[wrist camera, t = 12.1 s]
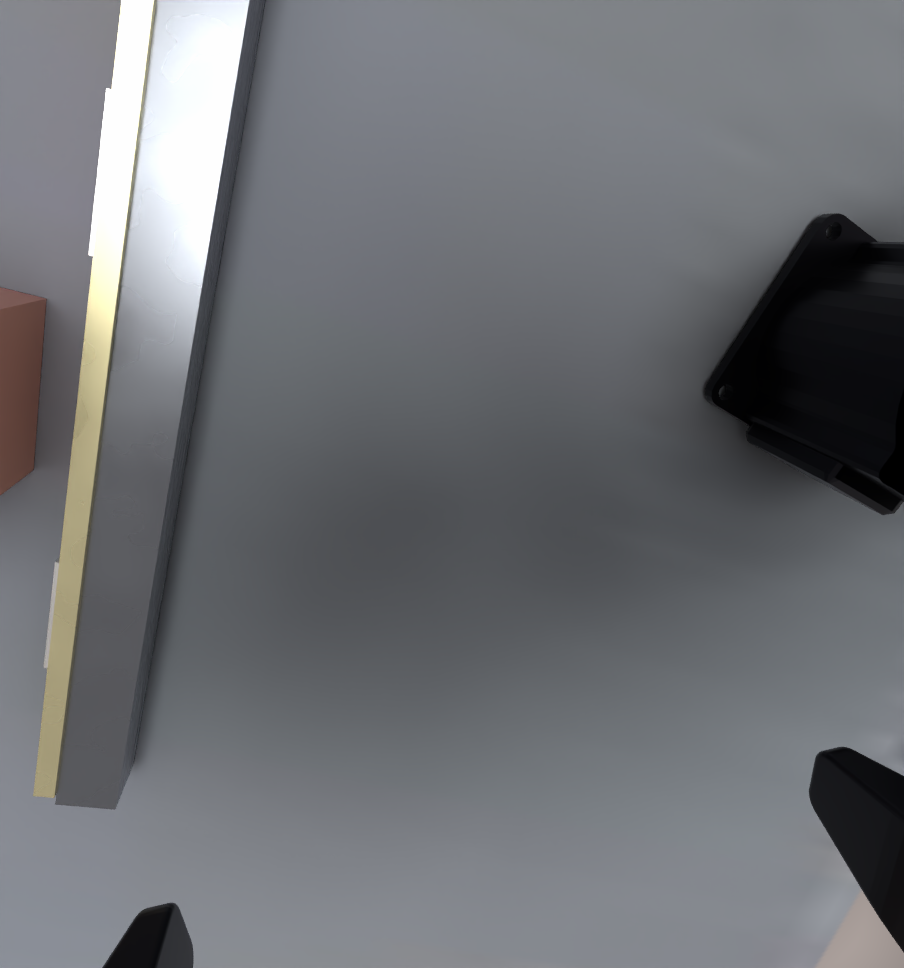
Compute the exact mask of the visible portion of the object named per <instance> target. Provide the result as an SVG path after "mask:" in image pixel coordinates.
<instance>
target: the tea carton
mask: <svg viewBox="0 0 904 968" xmlns="http://www.w3.org/2000/svg"><path fill="white" fill-rule="evenodd" d="M45 311H46V299H45V298H41V297H37V296H33V295H29V294H25V293H21V292H17V291H13V290H9V289H5V288H1V287H0V495H2V494H3V493H4V492H5V491H7V490H8V489H9V488H11V487H12V486H13V485H15V484H16V483H17V482H18V481H20V480H21V479H22V478H24V477H25V476H26V475H28V474H29V473H30V472H31V471H33V470H34V458H35V445H36V431H37V418H38V405H39V391H40V378H41V365H42V351H43V338H44V325H45Z"/></svg>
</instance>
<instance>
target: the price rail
mask: <svg viewBox="0 0 904 968" xmlns="http://www.w3.org/2000/svg"><path fill="white" fill-rule="evenodd" d="M264 5H265V0H122V1H121V10H120V19H119V28H118V37H117V46H116V55H115V64H114V73H113V82H112V90H110V89H106V98H105V107H104V117H103V126H102V135H101V144H100V153H99V163H98V172H97V181H96V190H95V199H94V209H93V218H92V227H91V236H90V245H89V255H90V256H93V263H92V272H91V281H90V290H89V299H88V308H87V317H86V326H85V335H84V344H83V353H82V362H81V371H80V380H79V389H78V398H77V407H76V416H75V425H74V434H73V443H72V452H71V461H70V470H69V479H68V488H67V497H66V506H65V515H64V524H63V533H62V542H61V551H60V557H59V558H58V559H57V561H56V562H55V568H54V577H53V586H52V595H51V605H50V614H49V623H48V632H47V641H46V651H45V660H44V668H47V677H46V686H45V695H44V704H43V713H42V722H41V731H40V740H39V749H38V758H37V767H36V776H35V785H34V794H33V796H38V797H50V798H54V797H55V795H56V793H57V795H56V803H55V804H56V805H68V806H80V807H92V808H104V809H116V806H117V804H118V801H119V799H120V796H121V794H122V791H123V789H124V786H125V784H126V781H127V779H128V776H129V774H130V771H131V769H132V766H133V764H134V758H135V753H136V747H137V741H138V735H139V730H140V724H141V718H142V712H143V706H144V701H145V695H146V689H147V683H148V677H149V672H150V666H151V660H152V654H153V648H154V643H155V637H156V631H157V625H158V619H159V614H160V608H161V602H162V596H163V590H164V585H165V579H166V573H167V567H168V562H169V556H170V550H171V544H172V538H173V533H174V527H175V521H176V515H177V509H178V504H179V498H180V492H181V486H182V480H183V475H184V469H185V463H186V457H187V451H188V446H189V440H190V434H191V428H192V423H193V417H194V411H195V405H196V399H197V394H198V388H199V382H200V376H201V370H202V365H203V359H204V353H205V347H206V341H207V336H208V330H209V324H210V318H211V312H212V307H213V301H214V295H215V289H216V283H217V278H218V272H219V266H220V260H221V255H222V249H223V243H224V237H225V231H226V226H227V220H228V214H229V208H230V202H231V197H232V191H233V185H234V179H235V173H236V168H237V162H238V156H239V150H240V144H241V139H242V133H243V127H244V121H245V115H246V110H247V104H248V98H249V92H250V87H251V81H252V75H253V69H254V63H255V58H256V52H257V46H258V40H259V34H260V29H261V23H262V17H263V11H264Z"/></svg>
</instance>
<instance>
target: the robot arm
mask: <svg viewBox="0 0 904 968" xmlns="http://www.w3.org/2000/svg"><path fill="white" fill-rule="evenodd" d="M830 224H831V226H832V233H831V236H830V237H829V238H827V237H826V230H827V228H828V226H829V225H830ZM724 385H726V388H727V389H726V392H725V394H724V395H723V396H721V397H719V390H720V388H721V387H722V386H724ZM705 396H706V399H707V400H708V401H709V402H710V403H711V404H713V405H715V406H716V407H718V408H720V409H721V410H723V411H725V412H726V413H728V414H730V415H732V416H733V417H735V418H737V419H738V420H740V421H742V422H743V423H745V424H747V425H748V426H750V427H749V429H748V430H747V431H746V437H747V441H748V442H750V443H752V444H753V445H755V446H757V447H758V448H760V449H762V450H764V451H765V452H767V453H769V454H770V455H772V456H774V457H776V458H777V459H779V460H781V461H782V462H784V463H786V464H788V465H789V466H791V467H793V468H794V469H796V470H798V471H800V472H802V473H804V474H805V475H807V476H809V477H811V478H813V479H815V480H817V481H819V482H821V483H823V484H824V485H826V486H828V487H830V488H832V489H834V490H836V491H838V492H840V493H842V494H843V495H845V496H847V497H849V498H851V499H853V500H855V501H857V502H859V503H861V504H862V505H864V506H866V507H868V508H870V509H872V510H874V511H876V512H878V513H880V514H881V515H886V514H892V513H895V512H896V510H897V509H898V508H899V507H900V505H901V504H902V503H903V502H904V242H877V241H876V240H875V239H874V238H872V237H871V236H870V235H868V234H867V233H866V232H865V231H863V230H862V229H861V228H860V227H858V226H857V225H856V224H854V223H853V222H852V221H851V220H849V219H848V218H847V217H846V216H844V215H842V214H839V213H838V214H824V215H822V216H820V217H818V218H817V219H816V220H815V222H814V223H813V224H812V226H811V227H810V229H809V230H808V232H807V233H806V235H805V236H804V238H803V239H802V241H801V242H800V244H799V245H798V247H797V248H796V250H795V251H794V253H793V254H792V256H791V257H790V259H789V260H788V262H787V264H786V265H785V267H784V268H783V270H782V271H781V273H780V274H779V276H778V277H777V279H776V280H775V282H774V283H773V285H772V286H771V288H770V289H769V291H768V292H767V294H766V295H765V297H764V298H763V300H762V301H761V303H760V304H759V306H758V308H757V309H756V311H755V312H754V314H753V315H752V317H751V318H750V320H749V321H748V323H747V324H746V326H745V327H744V329H743V330H742V332H741V333H740V335H739V336H738V338H737V339H736V341H735V342H734V344H733V345H732V347H731V348H730V350H729V351H728V353H727V355H726V356H725V358H724V359H723V361H722V362H721V364H720V365H719V367H718V368H717V370H716V371H715V373H714V374H713V376H712V377H711V379H710V380H709V382H708V384H707V386H706V388H705ZM809 797H810V801H811V804H812V806H813V808H814V810H815V812H816V814H817V815H818V817H819V819H820V820H821V822H822V824H823V825H824V827H825V829H826V830H827V832H828V834H829V835H830V837H831V839H832V840H833V842H834V844H835V846H836V847H837V849H838V851H839V852H840V854H841V856H842V857H843V859H844V861H845V862H846V864H847V866H848V867H849V869H850V871H851V872H852V874H853V876H854V877H855V879H856V881H857V882H858V884H859V886H860V887H861V889H862V891H863V892H864V894H865V896H866V897H867V899H868V900H869V902H870V904H871V905H872V907H873V908H874V910H875V911H876V913H877V915H878V916H879V918H880V919H881V921H882V922H883V924H884V925H885V926H886V928H887V929H888V931H889V932H890V934H891V935H892V937H893V938H894V939H895V941H896V942H897V944H898V945H899V946H900V948H901V949H902V951H903V952H904V776H903V775H901V774H899V773H897V772H895V771H893V770H891V769H889V768H887V767H885V766H883V765H881V764H879V763H878V762H876V761H874V760H872V759H870V758H868V757H866V756H864V755H862V754H860V753H858V752H856V751H854V750H852V749H850V748H847V747H837V748H833V749H829V750H825V751H821V752H819V753H818V754H817V756H816V758H815V763H814V768H813V773H812V778H811V783H810V788H809ZM103 968H193V946H192V942H191V939H190V936H189V933H188V931H187V928H186V925H185V923H184V920H183V917H182V915H181V912H180V909H179V907H178V906H177V905H176V904H175V903H167V904H163V905H158V906H154V907H150V908H146V909H144V910H142V911H141V912H140V913H139V914H138V915H137V916H136V918H135V919H134V920H133V922H132V923H131V925H130V926H129V928H128V930H127V931H126V933H125V934H124V936H123V937H122V939H121V940H120V942H119V943H118V945H117V946H116V948H115V949H114V951H113V952H112V954H111V955H110V957H109V958H108V960H107V961H106V963H105V965H104V966H103Z"/></svg>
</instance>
